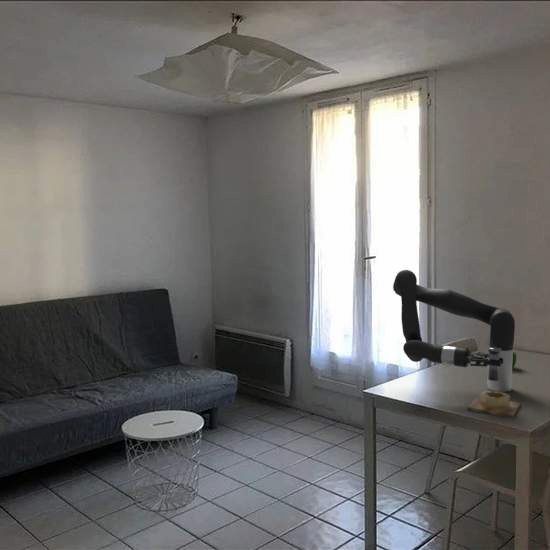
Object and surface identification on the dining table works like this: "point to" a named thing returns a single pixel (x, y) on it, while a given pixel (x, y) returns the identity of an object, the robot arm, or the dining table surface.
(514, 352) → the bell pepper
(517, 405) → the nut base
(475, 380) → the dining table surface
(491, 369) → the steel pin
